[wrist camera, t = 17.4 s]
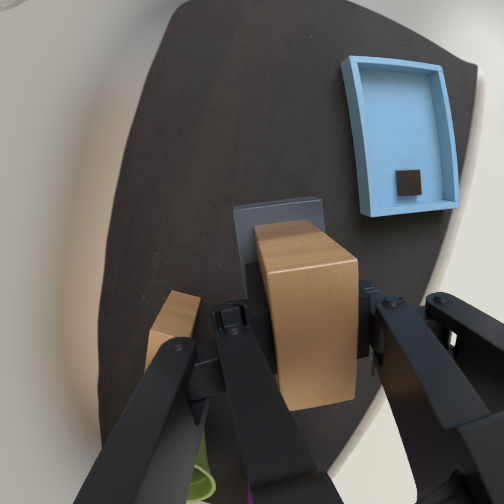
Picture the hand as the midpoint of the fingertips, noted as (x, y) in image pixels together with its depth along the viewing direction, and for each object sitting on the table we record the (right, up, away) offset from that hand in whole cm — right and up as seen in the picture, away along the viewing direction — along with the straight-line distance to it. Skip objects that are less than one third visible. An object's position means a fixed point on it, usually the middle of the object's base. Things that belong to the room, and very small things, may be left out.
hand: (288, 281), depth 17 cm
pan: (+15, +15, +15) cm, 26 cm away
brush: (0, +1, +3) cm, 3 cm away
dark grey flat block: (+16, +10, +15) cm, 24 cm away
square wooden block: (-11, -8, +19) cm, 23 cm away
